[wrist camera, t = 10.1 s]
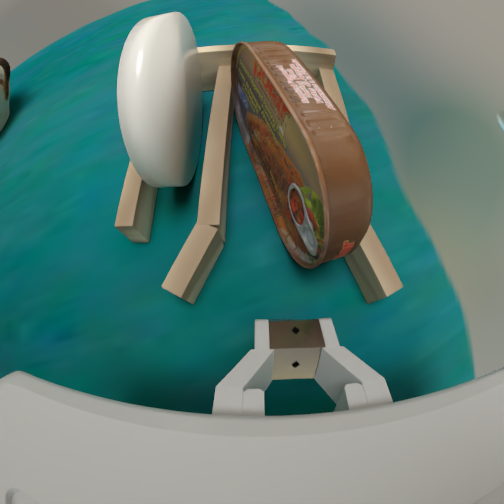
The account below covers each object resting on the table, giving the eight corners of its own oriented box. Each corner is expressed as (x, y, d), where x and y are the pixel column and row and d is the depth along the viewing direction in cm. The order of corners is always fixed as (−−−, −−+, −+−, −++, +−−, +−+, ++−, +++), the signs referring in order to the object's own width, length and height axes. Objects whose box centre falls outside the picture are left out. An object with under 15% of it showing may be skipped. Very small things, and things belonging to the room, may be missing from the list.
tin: (230, 109, 21) (221, 23, 13) (266, 102, 21) (269, 17, 13) (295, 285, 16) (332, 234, 8) (343, 270, 17) (408, 211, 9)
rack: (126, 300, 16) (89, 287, 12) (170, 88, 22) (159, 52, 18) (382, 303, 16) (418, 290, 12) (342, 88, 22) (352, 52, 17)
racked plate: (168, 218, 18) (88, 94, 7) (189, 103, 21) (162, -6, 11) (191, 217, 18) (126, 84, 7) (207, 102, 21) (186, -11, 10)
